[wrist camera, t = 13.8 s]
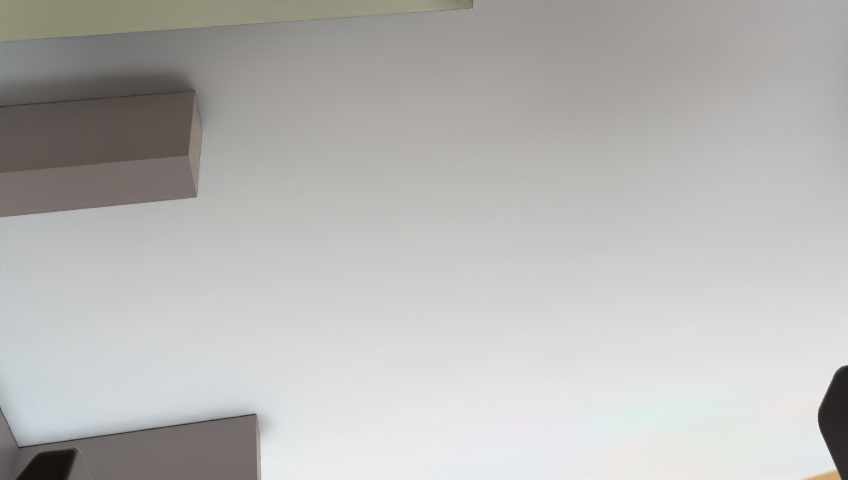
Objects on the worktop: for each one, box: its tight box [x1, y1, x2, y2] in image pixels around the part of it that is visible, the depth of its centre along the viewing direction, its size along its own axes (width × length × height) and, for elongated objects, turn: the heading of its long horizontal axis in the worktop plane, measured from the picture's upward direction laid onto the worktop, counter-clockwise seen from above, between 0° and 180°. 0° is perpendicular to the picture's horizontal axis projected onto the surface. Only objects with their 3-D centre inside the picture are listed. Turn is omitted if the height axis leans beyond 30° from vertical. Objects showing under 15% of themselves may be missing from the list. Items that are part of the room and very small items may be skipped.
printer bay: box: [0, 91, 261, 480], centre depth 20 cm, size 8×12×3 cm, turn 0°
